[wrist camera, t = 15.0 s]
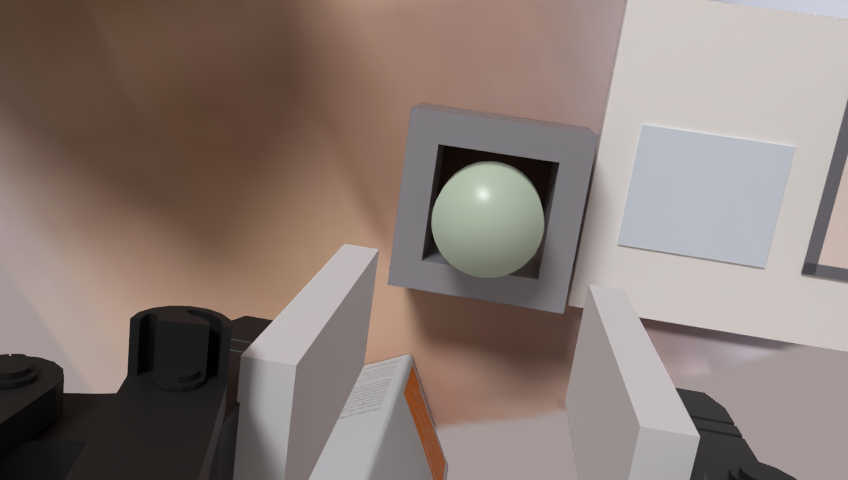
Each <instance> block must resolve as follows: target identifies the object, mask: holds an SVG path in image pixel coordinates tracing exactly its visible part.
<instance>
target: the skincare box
mask: <svg viewBox="0 0 848 480" xmlns="http://www.w3.org/2000/svg"><path fill="white" fill-rule="evenodd" d="M447 471H448V464H447V462H446V459H445V456H444V454H443V451H442V448H441V445H440V442H439V440H438V436H437V433H436V430H435V427H434V425H433V422H432V419H431V416H430V413H429V410H428V407H427V404H426V400H425V397H424V394H423V391H422V387H421V384H420V381H419V377H418V374H417V371H416V368H415V364H414V361H413V358H412V356H411V355H403V356H399V357H396V358H392V359H389V360H385V361H381V362H377V363H373V364H369V365H365V366H364V367H363V369H362V371H361V373H360V375H359V377H358V379H357V381H356V383H355V385H354V387H353V389H352V391H351V393H350V396H349V398H348V400H347V402H346V404H345V406H344V408H343V410H342V412H341V414H340V416H339V418H338V420H337V422H336V424H335V426H334V428H333V431H332V433H331V435H330V437H329V439H328V441H327V443H326V445H325V447H324V449H323V451H322V453H321V455H320V457H319V459H318V461H317V463H316V465H315V468H314V470H313V472H312V474H311V476H310V478H309V480H446V478H447Z"/></svg>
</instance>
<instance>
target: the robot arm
mask: <svg viewBox="0 0 848 480" xmlns="http://www.w3.org/2000/svg"><path fill="white" fill-rule="evenodd" d="M378 253H379V249H373V248H367V247H361V246H354V245H348V244H344V245H343V246H342V247H341V248H340V249H339V250H338V252H337V253H336V254H335V255H334V256H333V257H332V258H331V259H330V260H329V261H328V262H327V263H326V264H325V266H324V267H323V268H322V269H321V270H320V271H319V272H318V273H317V274H316V275H315V276H314V277H313V278H312V280H311V281H310V282H309V283H308V284H307V285H306V286H305V287H304V288H303V289H302V290H301V291H300V292H299V294H298V295H297V296H296V297H295V298H294V299H293V300H292V301H291V302H290V303H289V304H288V305H287V306H286V308H285V309H284V310H283V311H282V312H281V313H280V314H279V315H278V316H277V317H276V318H275V319H274V320H268V319H262V318H256V317H250V316H244V317H241V318H238V319H235V320H232V321H231V320H230V319H228V318H227V317H226V316H224V315H223V314H221V313H218V312H215V311H212V310H209V309H204V308H198V307H192V306H165V307H156V308H151V309H148V310H144V311H141V312H138V313H137V314H136V315H134V316H133V317H132V318H130V336H129V355H128V375H127V377H126V379H125V380H124V382H123V384H122V385H121V387H120V389H119V390H118V392H117V393H112V394H80V393H63V386H64V385H63V384H64V375H63V369H62V368H61V367H60V366H59V365H57V364H56V363H55V362H52V361H49V360H46V359H43V358H38V357H29V356H26V355H23V354H12V355H11V356H9V354H4V355H0V480H309V478H310V476H311V474H312V472H313V470H314V468H315V465H316V463H317V461H318V459H319V457H320V455H321V453H322V451H323V449H324V447H325V445H326V443H327V441H328V439H329V437H330V435H331V433H332V431H333V428H334V426H335V424H336V422H337V420H338V418H339V416H340V414H341V412H342V410H343V408H344V406H345V404H346V402H347V400H348V398H349V396H350V393H351V391H352V389H353V387H354V385H355V383H356V381H357V379H358V377H359V375H360V373H361V371H362V369H363V367H364V360H365V352H366V345H367V337H368V329H369V322H370V314H371V306H372V299H373V291H374V283H375V276H376V268H377V260H378ZM565 404H566V411H567V416H568V423H569V428H570V435H571V440H572V447H573V453H574V459H575V465H576V471H577V477H578V480H797V479H795V478H794V477H792V476H790V475H788V474H786V473H784V472H783V471H781V470H779V469H777V468H775V467H772V466H769V465H766V464H763V463H760V462H758V460H757V458H756V457H755V455H754V454H753V452H752V451H751V449H750V448H749V446H748V444H747V443H746V441H745V439H743V438H742V435H741V433H740V431H739V430H738V428H737V427H736V426H734V422H733V420H732V419H731V417H730V416H729V414H728V412H727V411H726V409H725V408H724V407H722V406H721V405H720V404H719V403H717V402H716V401H715V400H713V399H712V398H711V397H709V396H708V395H706V394H705V393H702V392H697V391H691V390H685V389H679V388H675V387H674V385H673V383H672V381H671V379H670V377H669V375H668V373H667V371H666V369H665V367H664V365H663V364H662V362H661V360H660V358H659V356H658V354H657V352H656V350H655V348H654V346H653V344H652V342H651V340H650V338H649V336H648V334H647V332H646V330H645V329H644V327H643V325H642V323H641V321H640V319H639V317H638V315H637V313H636V311H635V309H634V307H633V305H632V303H631V301H630V299H629V297H628V296H627V294H626V292H625V290H622V289H616V288H610V287H604V286H598V285H592V284H588V289H587V294H586V299H585V304H584V309H583V314H582V319H581V324H580V329H579V334H578V339H577V344H576V349H575V354H574V359H573V364H572V369H571V374H570V379H569V384H568V390H567V395H566V400H565Z"/></svg>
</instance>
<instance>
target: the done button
mask: <svg viewBox="0 0 848 480" xmlns="http://www.w3.org/2000/svg"><path fill="white" fill-rule="evenodd" d="M432 232H433V237H434V240H435V243H436V245H437V247H438V249H439V251H440V252H441V254H442V255H443V257H444V258H445V259H446V260H447V261H448V262H449V263H450V264H451V265H452V266H454V267H455V268H457V269H458V270H460V271H462V272H464V273H466V274H469V275H471V276H476V277H482V278H495V277H501V276H504V275H508V274H510V273H512V272H514V271H516V270H518V269H520V268H521V267H522V266H524V265H525V264H526V263H527V262H528V261H529V260H530V259H531V258H532V257H533V255H534V254H535V252H536V251H537V249H538V247H539V245H540V242H541V240H542V236H543V232H544V215H543V209H542V205H541V201H540V198H539V194H538V192H537V190H536V188H535V186H534V185H533V183H532V182H531V181H530V179H529V178H528V177H527V176H526V175H525V174H524V173H522V172H521V171H520V170H518V169H517V168H515V167H513V166H511V165H508V164H505V163H502V162H497V161H482V162H476V163H473V164H470V165H468V166H466V167H463V168H462V169H460V170H459V171H457V172H456V173H455V174H454V175H453V176H452V177H451V178H450V179H449V180H448V181H447V183H446V184H445V185H444V187H443V189H442V191H441V193H440V194H439V196H438V198H437V200H436V202H435V205H434V208H433V213H432Z"/></svg>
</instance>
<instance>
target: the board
mask: <svg viewBox="0 0 848 480" xmlns="http://www.w3.org/2000/svg"><path fill="white" fill-rule="evenodd" d="M588 284H592V285H598V286H604V287H610V288H616V289H622V290H625V292H626V294H627V296H628V297H629V299H630V301H631V303H632V305H633V307H634V309H635V311H636V313H637V315H638V317H640V318H646V319H652V320H658V321H664V322H670V323H676V324H682V325H688V326H694V327H700V328H706V329H712V330H718V331H724V332H730V333H736V334H742V335H748V336H754V337H760V338H766V339H772V340H778V341H784V342H790V343H796V344H802V345H808V346H814V347H821V348H826V349H832V350H838V351H844V352H848V19H842V18H834V17H827V16H819V15H812V14H805V13H797V12H790V11H782V10H775V9H768V8H760V7H753V6H745V5H738V4H731V3H723V2H716V1H708V0H626V2H625V7H624V12H623V17H622V23H621V28H620V33H619V38H618V43H617V48H616V54H615V59H614V64H613V69H612V74H611V79H610V84H609V90H608V95H607V100H606V105H605V110H604V115H603V121H602V126H601V131H600V136H599V141H598V146H597V152H596V157H595V162H594V167H593V172H592V177H591V182H590V188H589V193H588V198H587V203H586V208H585V213H584V219H583V224H582V229H581V234H580V239H579V244H578V249H577V255H576V260H575V265H574V270H573V275H572V280H571V286H570V291H569V296H568V301H567V302H568V306H574V307H580V308H584V304H585V299H586V294H587V289H588Z"/></svg>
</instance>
